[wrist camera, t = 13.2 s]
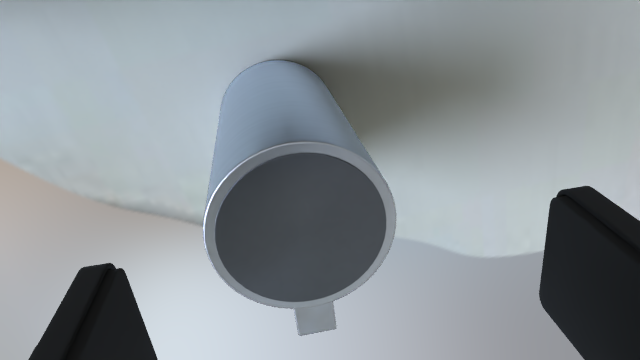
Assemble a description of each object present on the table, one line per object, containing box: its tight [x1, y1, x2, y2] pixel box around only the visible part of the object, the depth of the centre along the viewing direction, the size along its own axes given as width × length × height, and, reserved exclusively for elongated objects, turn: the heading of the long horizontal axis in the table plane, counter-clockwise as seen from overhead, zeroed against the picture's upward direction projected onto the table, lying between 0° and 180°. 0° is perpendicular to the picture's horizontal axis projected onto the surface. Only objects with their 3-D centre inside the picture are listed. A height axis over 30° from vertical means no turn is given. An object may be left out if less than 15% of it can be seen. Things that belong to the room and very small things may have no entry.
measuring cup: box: [203, 60, 396, 336], centre depth 17 cm, size 6×5×10 cm
